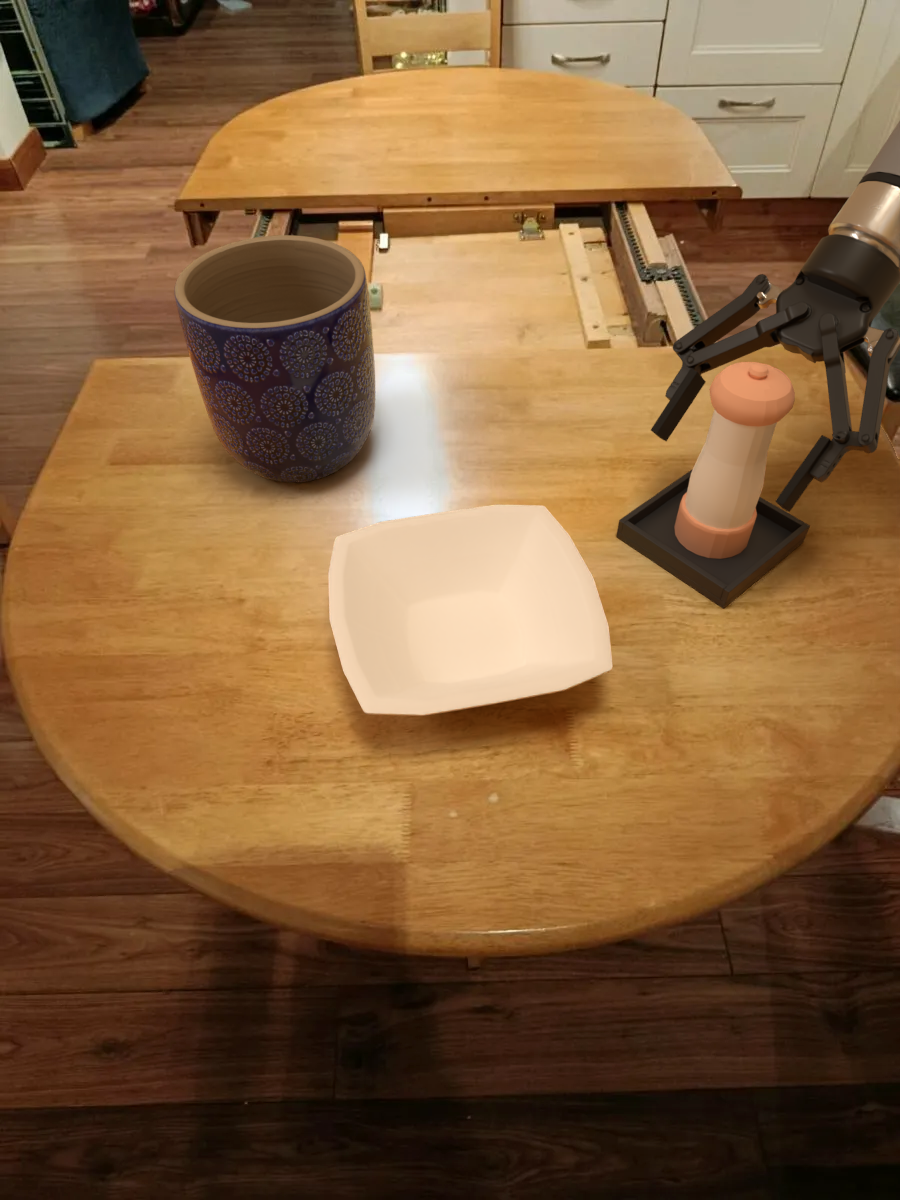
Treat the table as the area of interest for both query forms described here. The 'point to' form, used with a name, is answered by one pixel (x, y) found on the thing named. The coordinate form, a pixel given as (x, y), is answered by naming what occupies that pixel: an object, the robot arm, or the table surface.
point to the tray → (709, 576)
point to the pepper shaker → (733, 459)
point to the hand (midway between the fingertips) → (717, 470)
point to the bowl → (464, 610)
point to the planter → (282, 352)
